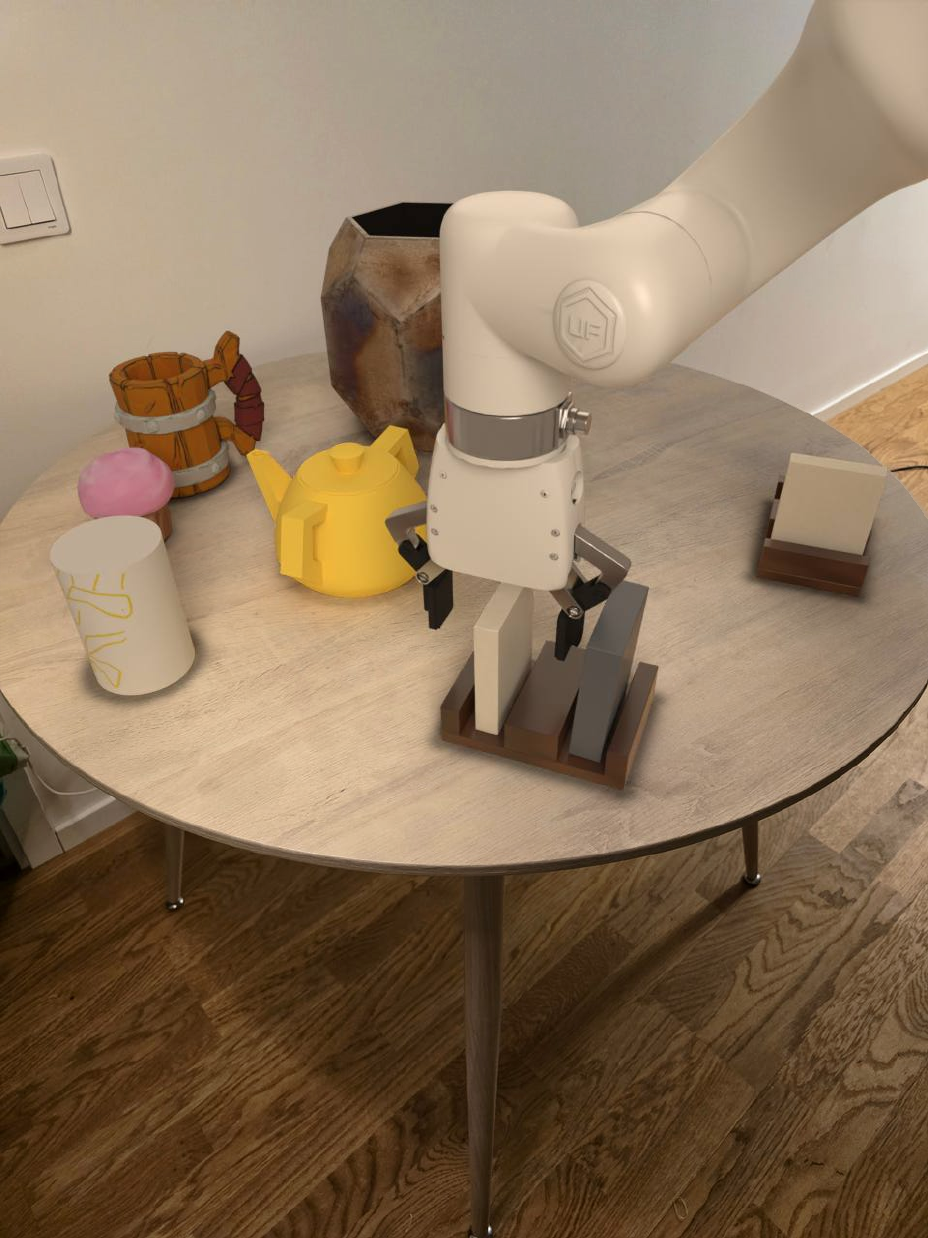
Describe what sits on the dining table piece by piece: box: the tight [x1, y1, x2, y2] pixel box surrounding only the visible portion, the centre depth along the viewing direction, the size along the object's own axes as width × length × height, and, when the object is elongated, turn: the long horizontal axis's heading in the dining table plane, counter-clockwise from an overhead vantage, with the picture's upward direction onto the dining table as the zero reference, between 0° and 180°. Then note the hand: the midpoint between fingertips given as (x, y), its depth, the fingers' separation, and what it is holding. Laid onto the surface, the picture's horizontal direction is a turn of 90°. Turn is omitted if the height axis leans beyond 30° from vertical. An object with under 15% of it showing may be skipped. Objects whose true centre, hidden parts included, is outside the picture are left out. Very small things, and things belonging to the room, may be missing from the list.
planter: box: [320, 201, 455, 453], centre depth 100 cm, size 22×24×24 cm
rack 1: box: [439, 640, 659, 791], centre depth 66 cm, size 14×10×4 cm
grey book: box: [568, 579, 650, 763], centre depth 62 cm, size 2×8×10 cm, turn 158°
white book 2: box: [771, 452, 889, 555], centre depth 78 cm, size 8×2×10 cm, turn 68°
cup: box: [49, 515, 196, 696], centre depth 69 cm, size 8×8×12 cm
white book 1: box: [473, 582, 535, 735], centre depth 64 cm, size 2×8×10 cm, turn 158°
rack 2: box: [756, 474, 872, 598], centre depth 83 cm, size 9×14×4 cm, turn 158°
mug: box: [108, 330, 265, 499], centre depth 95 cm, size 11×16×15 cm, turn 120°
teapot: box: [246, 425, 428, 599], centre depth 81 cm, size 17×17×12 cm
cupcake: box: [77, 447, 175, 541], centre depth 84 cm, size 9×9×10 cm
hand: (501, 633), depth 63 cm, fingers open, 9 cm apart
